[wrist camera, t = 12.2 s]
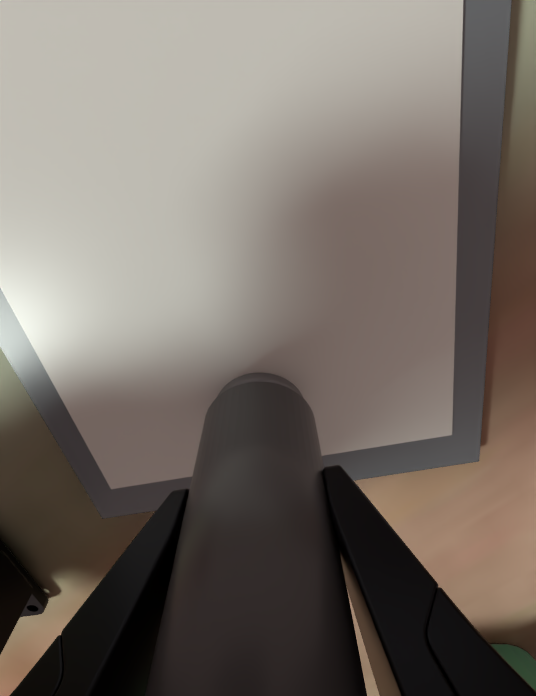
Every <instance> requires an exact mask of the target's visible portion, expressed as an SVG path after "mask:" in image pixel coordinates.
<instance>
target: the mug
mask: <svg viewBox="0 0 536 696" xmlns="http://www.w3.org/2000/svg"><path fill="white" fill-rule="evenodd" d="M490 645H491V646H492V647H493V648H494V649H495V650H496V651H497V652H498V653H499V654H500V655H501V656H502V657H503V658H504V659H505V660H506V661H507V662H508V663H509V664H510V665H511V666H512V668H513V669H514V670H515V671H516V672H517V673H518V674H519V675H520V676H521V677H522V678H523V679H524V680H525V681H526V682H527V683H528V684H529V685H530V686H531V687H532V688H533V689H534V690H535V691H536V661H535V660H534V659H533V658H532V656H531V655H530V654H529V653H528V652H527V651H525V650H523V649H521V648H519V647H517V646H513V645H509V644H490Z"/></svg>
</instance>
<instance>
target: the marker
mask: <svg viewBox="0 0 536 696" xmlns="http://www.w3.org/2000/svg"><path fill="white" fill-rule="evenodd" d="M323 468H324V465H323V460H322V455H321V449H320V444H319V439H318V433H317V428H316V423H315V418H314V414H313V412H312V410H311V408H310V406H309V405H308V403H307V402H306V401H305V400H304V398H303V396H302V394H301V392H300V391H299V390H298V388H297V387H296V386H295V385H294V384H292V383H291V382H290V381H288V380H287V379H285V378H283V377H281V376H278V375H275V374H271V373H263V372H260V373H249V374H245V375H242V376H239V377H237V378H235V379H233V380H232V381H230V382H229V383H227V384H226V385H225V386H224V387H223V388H222V390H221V391H220V392H219V394H218V396H217V398H216V399H215V400H214V401H213V402H212V404H211V405H210V407H209V408H208V411H207V413H206V416H205V420H204V425H203V430H202V434H201V439H200V443H199V448H198V453H197V457H196V462H195V467H194V471H193V476H192V480H191V485H190V490H189V494H188V499H187V503H186V508H185V513H184V517H183V522H182V526H181V531H180V536H179V540H178V545H177V549H176V554H175V559H174V563H173V568H172V572H171V577H170V582H169V586H168V591H167V596H166V600H165V605H164V609H163V614H162V619H161V623H160V628H159V632H158V637H157V642H156V646H155V651H154V655H153V660H152V665H151V669H150V674H149V678H148V683H147V688H146V692H145V696H367V693H366V688H365V682H364V677H363V672H362V667H361V661H360V656H359V651H358V645H357V640H356V635H355V630H354V624H353V619H352V614H351V608H350V603H349V598H348V592H347V587H346V582H345V577H344V571H343V566H342V561H341V555H340V550H339V545H338V541H337V537H336V533H335V530H334V526H333V521H332V516H331V511H330V506H329V500H328V495H327V489H326V484H325V478H324V473H323Z"/></svg>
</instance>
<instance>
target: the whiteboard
mask: <svg viewBox="0 0 536 696" xmlns="http://www.w3.org/2000/svg"><path fill="white" fill-rule="evenodd" d="M511 2H512V0H0V347H1V349H2V351H3V352H4V354H5V356H6V358H7V359H8V361H9V363H10V364H11V366H12V368H13V369H14V371H15V373H16V374H17V376H18V378H19V379H20V381H21V383H22V384H23V386H24V388H25V389H26V391H27V393H28V395H29V396H30V398H31V400H32V401H33V403H34V405H35V406H36V408H37V410H38V411H39V413H40V415H41V416H42V418H43V420H44V421H45V423H46V425H47V427H48V428H49V430H50V432H51V433H52V435H53V437H54V438H55V440H56V442H57V443H58V445H59V447H60V448H61V450H62V452H63V453H64V455H65V457H66V458H67V460H68V462H69V464H70V465H71V467H72V469H73V470H74V472H75V474H76V475H77V477H78V479H79V480H80V482H81V484H82V485H83V487H84V489H85V490H86V492H87V494H88V495H89V497H90V499H91V501H92V502H93V504H94V506H95V507H96V509H97V511H98V512H99V514H100V516H101V517H102V519H104V518H111V517H117V516H124V515H130V514H137V513H143V512H150V511H156V510H157V509H158V508H159V507H160V505H161V504H162V503H163V502H164V500H165V499H166V498H167V496H168V495H169V494H170V493H171V492H172V491H174V490H179V489H185V488H188V489H190V485H191V480H192V476H193V471H194V467H195V462H196V457H197V453H198V448H199V443H200V439H201V434H202V430H203V425H204V420H205V416H206V413H207V411H208V408H209V407H210V405H211V404H212V402H213V401H214V400H215V399H216V398H217V396H218V394H219V392H220V391H221V390H222V388H223V387H224V386H225V385H226V384H227V383H229V382H230V381H232V380H233V379H235V378H237V377H239V376H242V375H245V374H249V373H260V372H263V373H271V374H275V375H278V376H281V377H283V378H285V379H287V380H288V381H290V382H291V383H292V384H294V385H295V386H296V387H297V388H298V390H299V391H300V392H301V394H302V396H303V398H304V400H305V401H306V402H307V403H308V405H309V406H310V408H311V410H312V412H313V414H314V418H315V423H316V428H317V433H318V439H319V444H320V449H321V455H322V460H323V465H324V467H326V466H333V465H340V466H342V467H343V469H344V470H345V471H346V472H347V474H348V475H349V476H350V477H351V478H352V480H360V479H366V478H373V477H379V476H386V475H392V474H399V473H405V472H412V471H419V470H425V469H432V468H438V467H445V466H451V465H458V464H464V463H471V462H478V461H479V456H480V442H481V428H482V413H483V399H484V385H485V371H486V357H487V342H488V328H489V314H490V300H491V286H492V271H493V257H494V243H495V229H496V215H497V200H498V186H499V172H500V158H501V144H502V129H503V115H504V101H505V87H506V73H507V58H508V44H509V30H510V16H511Z"/></svg>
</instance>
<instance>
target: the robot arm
mask: <svg viewBox="0 0 536 696" xmlns="http://www.w3.org/2000/svg"><path fill="white" fill-rule="evenodd" d="M323 473H324V478H325V484H326V489H327V495H328V500H329V506H330V511H331V516H332V521H333V526H334V530H335V533H336V537H337V541H338V545H339V550H340V555H341V561H342V566H343V571H344V577H345V582H346V586H347V589H348V592H349V596H350V599H351V602H352V606H353V609H354V612H355V616H356V619H357V622H358V625H359V629H360V632H361V635H362V639H363V642H364V645H365V649H366V652H367V655H368V658H369V662H370V665H371V668H372V672H373V675H374V678H375V681H376V685H377V688H378V691H379V695H380V696H536V691H535V690H534V689H533V688H532V687H531V686H530V685H529V684H528V683H527V682H526V681H525V680H524V679H523V678H522V677H521V676H520V675H519V674H518V673H517V672H516V671H515V670H514V669H513V668H512V666H511V665H510V664H509V663H508V662H507V661H506V660H505V659H504V658H503V657H502V656H501V655H500V654H499V653H498V652H497V651H496V650H495V649H494V648H493V647H492V646H491V645H490V643H489V642H488V641H487V640H486V639H485V638H484V637H483V636H482V635H481V634H480V633H479V632H478V631H477V629H476V628H475V627H474V626H473V625H472V624H471V623H470V621H469V620H468V619H467V618H466V617H465V616H464V614H463V613H462V612H461V611H460V610H459V609H458V607H457V606H456V605H455V604H454V603H453V601H452V600H451V599H450V598H449V597H448V595H447V594H446V593H445V592H444V591H443V589H442V588H440V587H439V588H438V584H437V582H436V581H435V580H434V579H433V577H432V576H431V575H430V574H429V572H428V571H427V570H426V569H425V568H424V566H423V565H422V564H421V563H420V561H419V560H418V559H417V558H416V557H415V555H414V554H413V553H412V552H411V550H410V549H409V548H408V547H407V546H406V544H405V543H404V542H403V541H402V539H401V538H400V537H399V536H398V535H397V533H396V532H395V531H394V530H393V529H392V527H391V526H390V525H389V524H388V522H387V521H386V520H385V519H384V518H383V516H382V515H381V514H380V513H379V511H378V510H377V509H376V508H375V507H374V505H373V504H372V503H371V502H370V500H369V499H368V498H367V497H366V496H365V494H364V493H363V492H362V491H361V489H360V488H359V487H358V486H357V485H356V483H355V482H354V481H353V480H352V478H351V477H350V476H349V475H348V474H347V472H346V471H345V470H344V469H343V467H342V466H340V465H333V466H326V467H324V468H323ZM189 490H190V489H188V488H185V489H179V490H174V491H172V492H171V493H170V494H169V495H168V496H167V498H166V499H165V500H164V502H163V503H162V504H161V505H160V507H159V508H158V509H157V511H156V512H155V513H154V514H153V516H152V517H151V518H150V519H149V521H148V522H147V523H146V525H145V526H144V527H143V528H142V530H141V531H140V532H139V533H138V535H137V536H136V537H135V539H134V540H133V541H132V542H131V544H130V545H129V546H128V548H127V549H126V550H125V551H124V553H123V554H122V555H121V556H120V558H119V559H118V560H117V562H116V563H115V564H114V565H113V567H112V568H111V569H110V571H109V572H108V573H107V574H106V576H105V577H104V578H103V579H102V581H101V582H100V583H99V585H98V586H97V587H96V588H95V590H94V591H93V592H92V593H91V595H90V596H89V597H88V599H87V600H86V601H85V602H84V604H83V605H82V606H81V608H80V609H79V610H78V611H77V613H76V614H75V615H74V616H73V618H72V619H71V620H70V622H69V623H68V624H67V625H66V627H65V628H64V629H63V631H62V633H61V635H59V636H58V637H57V638H56V639H55V641H54V642H53V643H52V644H51V646H50V647H49V648H48V649H47V651H46V652H45V653H44V655H43V656H42V657H41V658H40V659H39V661H38V662H37V663H36V664H35V666H34V667H33V668H32V669H31V671H30V672H29V673H28V674H27V676H26V677H25V678H24V679H23V680H22V682H21V683H20V684H19V685H18V687H17V688H16V689H15V690H14V691H13V692H12V693H11V695H10V696H145V692H146V688H147V683H148V678H149V674H150V669H151V665H152V660H153V655H154V651H155V646H156V642H157V637H158V632H159V628H160V623H161V619H162V614H163V609H164V605H165V600H166V596H167V591H168V586H169V582H170V577H171V572H172V568H173V563H174V559H175V554H176V549H177V545H178V540H179V536H180V531H181V526H182V522H183V517H184V513H185V508H186V503H187V499H188V494H189ZM48 601H49V600H48V598H47V596H46V595H45V594H44V593H43V591H42V590H41V589H40V588H39V586H38V585H37V584H36V583H35V582H34V580H33V579H32V578H31V577H30V575H29V574H28V573H27V572H26V570H25V569H24V568H23V567H22V565H21V564H20V563H19V562H18V560H17V559H16V558H15V557H14V555H13V554H12V553H11V552H10V550H9V549H8V548H7V547H6V546H5V544H4V543H3V542H2V541H1V539H0V654H1V652H2V650H3V648H4V646H5V645H6V643H7V641H8V639H9V637H10V635H11V633H12V631H13V629H14V627H15V625H16V623H17V621H18V620H19V618H20V617H23V616H31V615H38V614H42V613H43V612H44V610H45V608H46V606H47V604H48Z"/></svg>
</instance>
